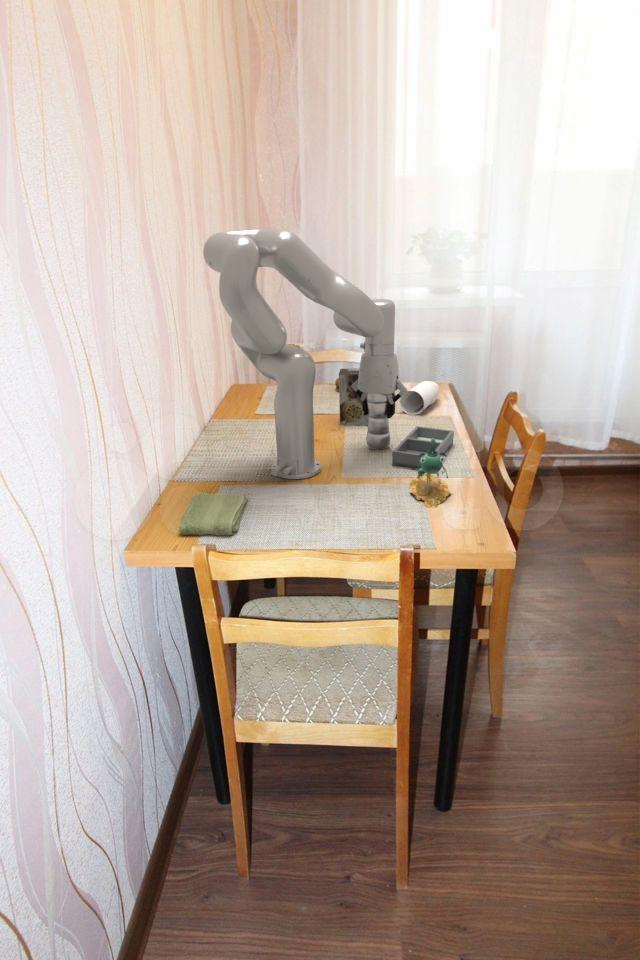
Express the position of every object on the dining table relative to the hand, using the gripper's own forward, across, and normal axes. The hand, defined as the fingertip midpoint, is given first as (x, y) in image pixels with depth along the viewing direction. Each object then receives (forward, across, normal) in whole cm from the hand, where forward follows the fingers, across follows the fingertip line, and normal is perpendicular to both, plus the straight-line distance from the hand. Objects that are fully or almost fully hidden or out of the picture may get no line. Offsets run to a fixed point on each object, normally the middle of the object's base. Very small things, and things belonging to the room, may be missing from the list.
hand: (378, 414), depth 174 cm
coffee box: (+10, -14, +17) cm, 24 cm away
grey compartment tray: (+10, +13, 0) cm, 16 cm away
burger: (+10, -29, +48) cm, 57 cm away
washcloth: (+10, -19, -52) cm, 56 cm away
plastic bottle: (+10, 0, 0) cm, 10 cm away
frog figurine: (+10, +21, -21) cm, 31 cm away
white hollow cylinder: (+10, 0, +38) cm, 40 cm away
